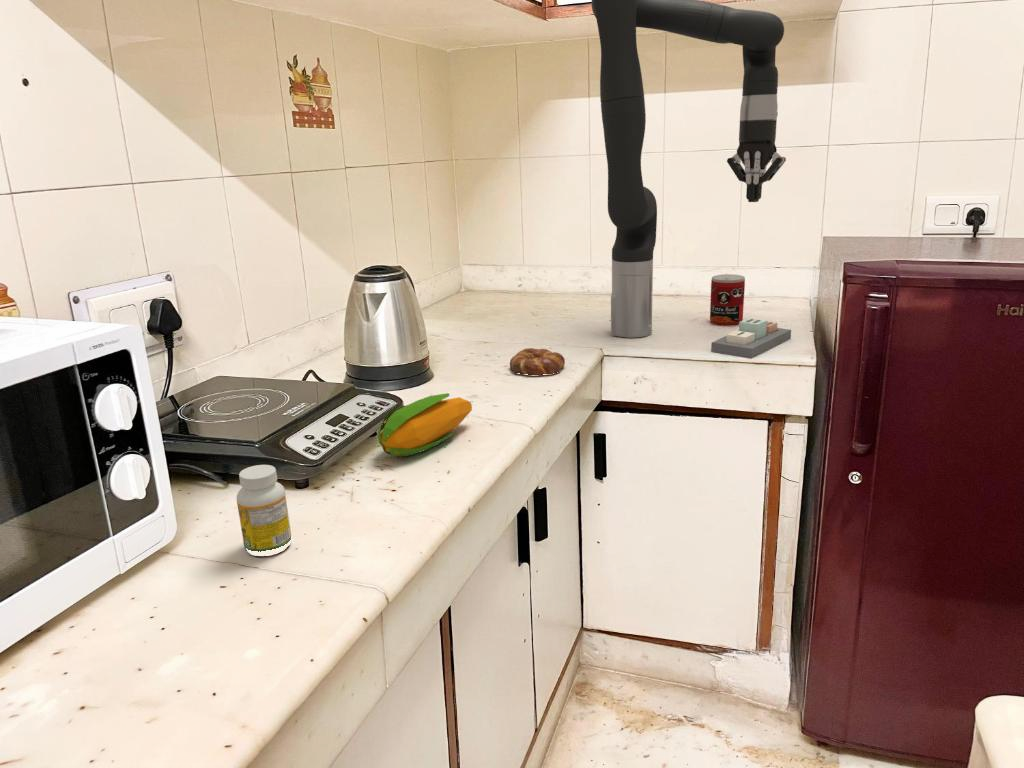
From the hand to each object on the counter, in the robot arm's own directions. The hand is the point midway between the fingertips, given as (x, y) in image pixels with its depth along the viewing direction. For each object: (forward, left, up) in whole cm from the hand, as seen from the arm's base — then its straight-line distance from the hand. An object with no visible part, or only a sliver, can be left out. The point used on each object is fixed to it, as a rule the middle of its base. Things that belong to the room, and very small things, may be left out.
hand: (753, 201), depth 168 cm
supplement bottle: (-63, -107, -29) cm, 128 cm away
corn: (-54, -74, -29) cm, 96 cm away
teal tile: (0, -13, -27) cm, 30 cm away
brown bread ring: (-44, -34, -30) cm, 62 cm away
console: (0, -13, -29) cm, 32 cm away
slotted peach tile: (+3, -8, -29) cm, 30 cm away
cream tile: (-3, -18, -29) cm, 34 cm away
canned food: (-4, +8, -29) cm, 31 cm away
